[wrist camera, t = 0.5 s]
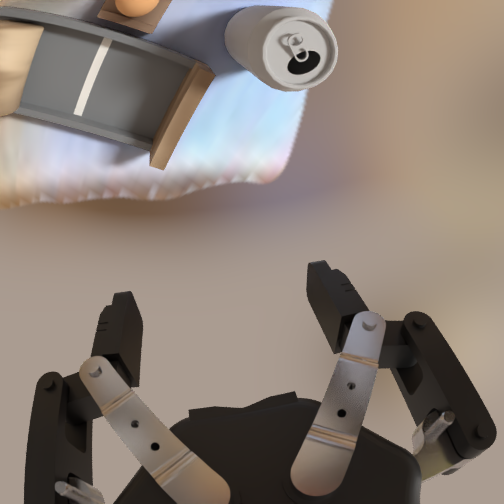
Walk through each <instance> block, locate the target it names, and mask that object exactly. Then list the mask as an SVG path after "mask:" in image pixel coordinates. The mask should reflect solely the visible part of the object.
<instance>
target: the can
mask: <svg viewBox="0 0 504 504" xmlns="http://www.w3.org/2000/svg"><path fill="white" fill-rule="evenodd" d="M224 38H225V45H226V48H227V51H228V53H229V54H230V55H231V56H232V57H233V59H234V60H235V61H236V62H238V63H239V64H240V65H242V66H243V67H244V68H246V69H247V70H248V71H249V72H251V73H252V74H253V75H254V76H256V77H257V78H258V79H259V80H261V81H262V82H264V83H265V84H267V85H268V86H270V87H271V88H274V89H278V90H281V91H285V92H287V91H301V90H304V89H308V88H311V87H314V86H316V85H318V84H319V83H321V82H323V81H324V80H325V79H326V78H327V77H328V76H329V75H330V74H331V72H332V71H333V69H334V67H335V64H336V62H337V56H338V47H337V42H336V38H335V36H334V35H333V32H332V30H331V29H330V27H329V25H328V24H327V22H326V21H324V20H323V19H322V18H321V17H320V16H319V15H317V14H316V13H314V12H311V11H309V10H307V9H304V8H296V7H283V6H259V5H254V6H251V7H247V8H244V9H242V10H241V11H239V12H238V13H236V14H235V15H234V16H233V17H232V18H231V20H230V21H229V22H228V24H227V27H226V30H225V33H224Z"/></svg>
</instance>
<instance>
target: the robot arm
mask: <svg viewBox="0 0 504 504" xmlns="http://www.w3.org/2000/svg"><path fill="white" fill-rule="evenodd" d="M306 290H307V297H308V301H309V303H310V305H311V307H312V309H313V311H314V313H315V315H316V317H317V320H318V322H319V324H320V326H321V328H322V330H323V332H324V334H325V336H326V338H327V340H328V343H329V345H330V347H331V349H332V351H333V353H334V354H336V353H340V352H342V354H340V357H339V360H338V362H337V365H336V368H335V370H334V373H333V375H332V378H331V381H330V383H329V386H328V388H327V391H326V393H325V396H324V398H323V401H322V403H321V402H319V401H316V400H312V399H305V398H297V396H296V393H295V391H294V392H290V393H285V394H281V395H276V396H271V397H268V398H266V399H263V400H261V401H259V402H257V403H254V404H252V405H250V406H247V407H244V408H231V407H216V406H214V407H207V408H200V409H191V410H189V417H188V418H185V419H183V420H181V421H179V422H178V423H176V424H175V425H173V426H172V427H171V428H170V429H168V428H167V427H166V426H165V425H164V424H163V423H162V422H161V421H160V420H159V419H158V418H157V417H156V416H155V415H154V413H153V412H152V411H151V410H150V409H149V408H148V407H147V406H146V405H145V403H144V402H143V401H142V400H141V399H140V398H139V397H138V395H137V394H136V393H135V392H134V391H133V390H131V387H139V379H140V361H141V347H142V335H143V321H142V317H141V315H140V312H139V309H138V307H137V304H136V302H135V299H134V296H133V294H132V292H131V291H127V292H120V293H115V294H114V297H113V301H112V305H109V306H106V307H105V308H104V310H103V311H102V312H101V314H100V317H99V321H98V325H97V330H96V331H97V332H96V334H95V339H94V343H93V348H92V353H91V358H89V359H87V360H86V361H85V362H84V363H83V364H82V365H81V367H80V370H79V372H77V373H75V374H72V375H69V376H67V377H64V378H62V376H61V375H60V374H59V373H57V372H48V373H46V374H44V375H43V376H42V377H41V378H40V379H39V381H38V382H37V385H36V390H35V395H34V401H33V407H32V413H31V419H30V426H29V434H28V443H27V452H26V464H25V483H24V504H105V502H104V498H103V495H102V494H101V492H100V491H99V490H98V489H97V488H95V487H93V481H92V480H93V479H92V423H93V422H92V421H93V419H96V418H99V417H101V416H104V417H105V418H106V419H107V421H108V422H109V424H110V425H111V427H112V428H113V429H114V431H115V432H116V433H117V435H118V436H119V437H120V438H121V440H122V441H123V442H124V444H125V445H126V446H127V447H128V448H129V450H130V451H131V452H132V453H133V455H134V456H135V457H136V458H137V459H138V461H139V462H140V463H141V464H142V466H141V467H140V469H139V470H138V471H137V473H136V474H135V475H134V477H133V478H132V479H131V481H130V482H129V483H128V485H127V486H126V488H125V489H124V490H123V491H122V493H121V494H120V495H119V497H118V498H117V499H116V501H115V502H114V503H113V504H420V489H421V483H423V482H426V481H428V480H430V479H432V478H434V477H436V476H438V475H440V474H442V475H449V474H452V473H454V472H455V471H457V470H458V469H460V468H461V467H463V466H464V465H466V464H467V463H468V462H470V461H471V460H473V459H474V458H476V457H477V456H478V455H480V454H481V453H482V452H484V451H485V450H486V449H488V448H489V447H490V446H491V445H492V444H493V443H494V441H495V439H496V434H497V431H496V426H495V424H494V422H493V420H492V418H491V417H490V414H489V412H488V410H487V409H486V407H485V405H484V403H483V401H482V399H481V398H480V396H479V394H478V392H477V391H476V389H475V387H474V386H473V384H472V382H471V381H470V379H469V377H468V375H467V374H466V372H465V370H464V368H463V367H462V365H461V364H460V362H459V360H458V359H457V357H456V355H455V354H454V352H453V351H452V349H451V348H450V346H449V344H448V343H447V341H446V340H445V338H444V337H443V335H442V334H441V332H440V331H439V329H438V328H437V326H436V325H435V323H434V322H433V321H432V319H431V318H430V317H429V316H428V315H427V314H425V313H422V312H418V311H414V312H410V313H408V314H407V315H406V316H405V318H404V320H403V321H386V320H384V318H383V317H382V316H381V315H379V314H378V313H375V312H372V311H369V309H368V308H367V306H366V305H365V303H364V301H363V300H362V298H361V297H360V295H359V294H358V292H357V291H356V290H355V288H354V286H353V285H352V284H351V282H350V281H349V279H348V278H347V276H346V275H345V274H344V273H342V272H341V271H339V270H338V269H334V270H331V268H330V267H329V265H328V264H327V262H326V261H325V260H322V261H317V262H311V263H309V264H308V270H307V288H306ZM378 368H390V370H391V371H392V374H393V376H394V378H395V380H396V382H397V384H398V386H399V389H400V391H401V392H402V395H403V397H404V399H405V401H406V404H407V406H408V408H409V410H410V412H411V415H412V417H413V419H414V421H415V424H416V426H417V428H416V429H415V431H414V433H413V436H412V442H413V448H414V450H413V455H412V454H411V453H410V452H409V451H407V450H406V449H404V448H402V447H400V446H398V445H396V444H394V443H392V442H390V441H389V440H387V439H385V438H383V437H381V436H379V435H378V434H376V433H374V432H372V431H370V430H369V429H367V428H365V427H363V426H362V422H363V420H364V416H365V413H366V410H367V406H368V403H369V399H370V396H371V392H372V389H373V385H374V382H375V377H376V374H377V370H378Z"/></svg>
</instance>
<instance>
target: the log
mask: <svg viewBox="0 0 504 504" xmlns="http://www.w3.org/2000/svg"><path fill="white" fill-rule="evenodd" d="M43 30H44V27H43V26H41V25H38V24H35V23H30V22H25V21H17V20H0V117H1V116H5V115H8V114H11V113H13V112H15V111H16V110H17V109H18V108H19V106H20V102H21V98H22V94H23V90H24V86H25V83H26V79H27V76H28V72H29V69H30V66H31V63H32V60H33V57H34V54H35V51H36V48H37V46H38V43H39V40H40V37H41V35H42V32H43Z"/></svg>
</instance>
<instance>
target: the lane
mask: <svg viewBox="0 0 504 504" xmlns="http://www.w3.org/2000/svg"><path fill="white" fill-rule="evenodd" d="M0 20H17V21H25V22H30V23H35V24H38V25H41V26H43V27H44V30H43V32H42V35H41V37H40V40H39V43H38V46H37V48H36V51H35V54H34V57H33V60H32V63H31V66H30V69H29V72H28V76H27V79H26V83H25V86H24V90H23V94H22V98H21V102H20V106H19V108H18V109H17V110H16V111H15V112H13V113H17V114H21V115H25V116H29V117H33V118H37V119H41V120H45V121H49V122H53V123H57V124H60V125H64V126H68V127H71V128H75V129H79V130H82V131H86V132H89V133H93V134H96V135H99V136H103V137H106V138H110V139H113V140H116V141H119V142H123V143H126V144H129V145H132V146H136V147H139V148H142V149H145V150H148V151H150V150H151V148H152V145H153V138H154V136H155V133H156V131H157V129H158V127H159V125H160V123H161V121H162V119H163V117H164V115H165V113H166V111H167V109H168V107H169V105H170V103H171V101H172V99H173V98H174V96H175V94H176V92H177V90H178V88H179V86H180V85H181V83H182V81H183V79H184V77H185V76H186V74H187V72H188V70H189V68H191V69H193V67H194V65H195V63H196V61H195V60H194V59H193V58H191V57H188V56H186V55H184V54H181V53H179V52H176V51H174V50H171V49H169V48H166V47H164V46H161V45H158V44H156V43H153V42H150V41H147V40H145V39H142V38H139V37H136V36H133V35H130V34H127V33H124V32H121V31H118V30H114V29H111V28H108V27H104V26H101V25H97V24H94V23H90V22H86V21H82V20H78V19H74V18H70V17H66V16H61V15H56V14H51V13H46V12H41V11H35V10H29V9H22V8H15V7H7V6H3V7H0Z"/></svg>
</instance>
